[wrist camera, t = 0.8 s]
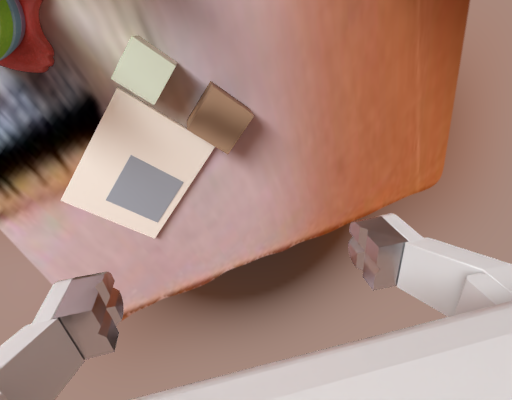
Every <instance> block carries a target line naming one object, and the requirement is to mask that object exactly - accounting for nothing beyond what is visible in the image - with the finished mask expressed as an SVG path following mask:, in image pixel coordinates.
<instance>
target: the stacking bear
mask: <svg viewBox="0 0 512 400" xmlns="http://www.w3.org/2000/svg"><path fill="white" fill-rule="evenodd" d="M42 1H43V0H0V65H1V66H4V67H7V68H10V69H14V70H19V71H24V72H33V73H42V72H46V71H47V70H48V68H49V67H50V66H53V64H54V59H53V56H54V50H53V48H52V46H51V44H50V43H49V42H48V40H47V39H46V37H45V35H44V33H43V31H42V29H41V26H40V22H39V8H40V5H41V3H42Z"/></svg>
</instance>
